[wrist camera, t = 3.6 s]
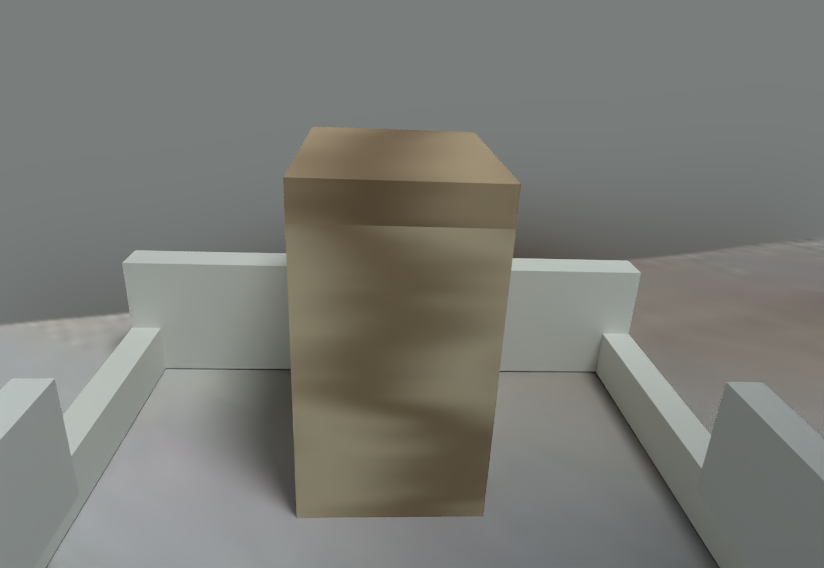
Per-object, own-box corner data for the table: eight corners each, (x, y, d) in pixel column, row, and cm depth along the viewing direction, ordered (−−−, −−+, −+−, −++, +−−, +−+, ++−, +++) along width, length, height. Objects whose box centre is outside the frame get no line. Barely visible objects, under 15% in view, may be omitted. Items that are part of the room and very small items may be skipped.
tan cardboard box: (453, 383, 27) (474, 132, 23) (482, 516, 20) (520, 184, 16) (318, 382, 27) (312, 126, 23) (296, 517, 20) (283, 177, 15)
